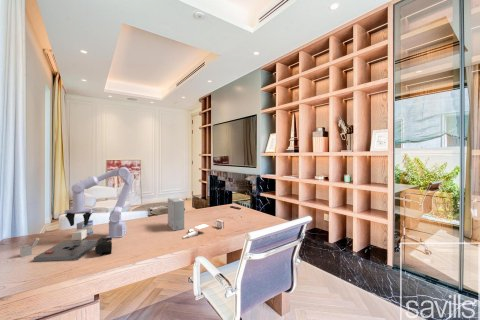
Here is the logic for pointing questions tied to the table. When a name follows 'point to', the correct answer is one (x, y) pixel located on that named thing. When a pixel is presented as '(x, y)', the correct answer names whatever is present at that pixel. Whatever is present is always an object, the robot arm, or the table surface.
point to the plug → (79, 234)
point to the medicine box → (88, 227)
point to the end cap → (103, 246)
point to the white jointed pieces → (190, 233)
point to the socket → (67, 251)
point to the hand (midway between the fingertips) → (79, 225)
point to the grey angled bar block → (27, 249)
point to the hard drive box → (176, 213)
